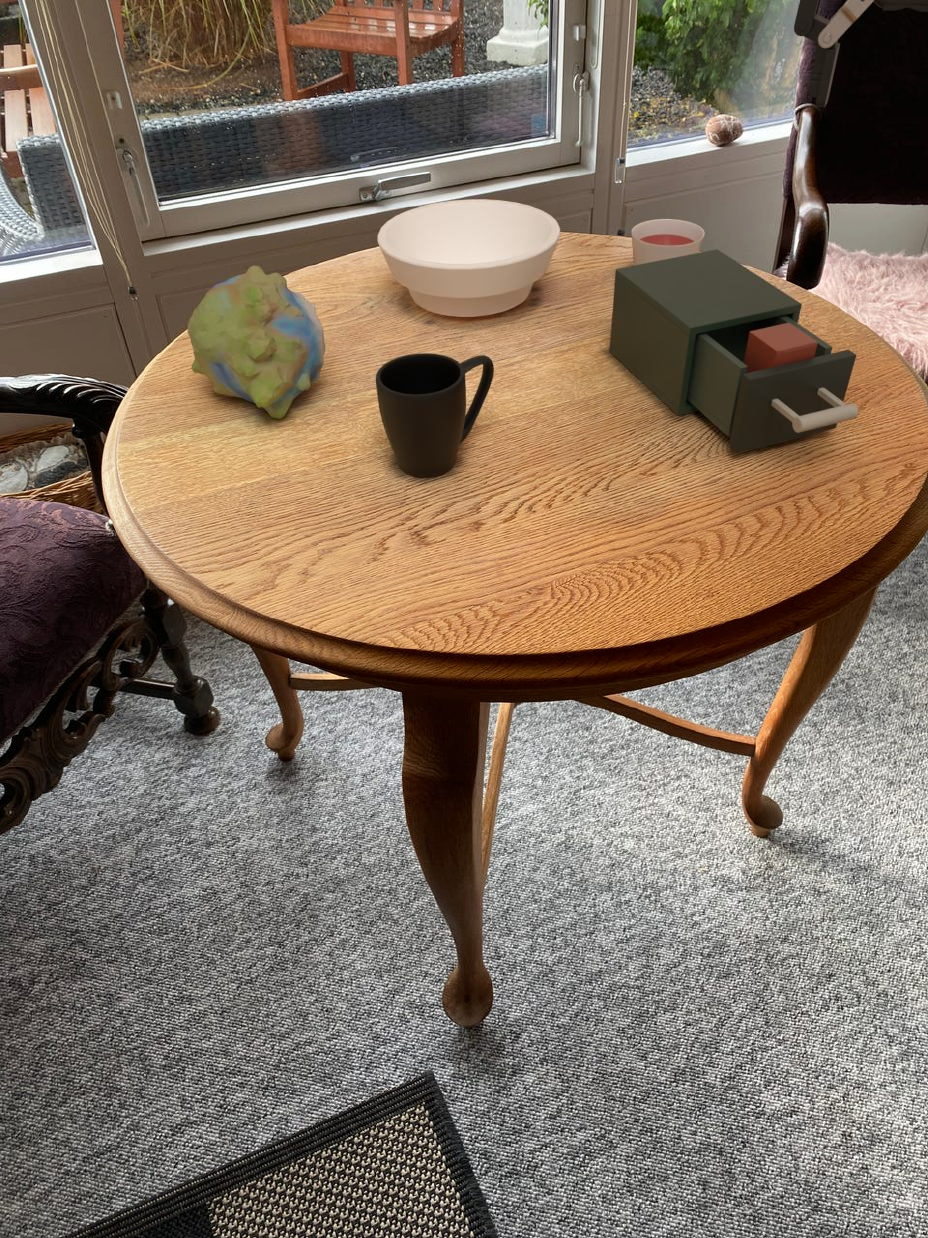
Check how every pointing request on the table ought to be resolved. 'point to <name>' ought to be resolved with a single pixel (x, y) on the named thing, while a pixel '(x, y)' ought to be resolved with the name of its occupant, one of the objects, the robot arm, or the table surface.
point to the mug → (429, 408)
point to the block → (777, 347)
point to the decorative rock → (257, 340)
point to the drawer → (768, 388)
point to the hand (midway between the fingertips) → (882, 108)
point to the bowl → (469, 254)
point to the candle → (665, 240)
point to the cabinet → (684, 315)
